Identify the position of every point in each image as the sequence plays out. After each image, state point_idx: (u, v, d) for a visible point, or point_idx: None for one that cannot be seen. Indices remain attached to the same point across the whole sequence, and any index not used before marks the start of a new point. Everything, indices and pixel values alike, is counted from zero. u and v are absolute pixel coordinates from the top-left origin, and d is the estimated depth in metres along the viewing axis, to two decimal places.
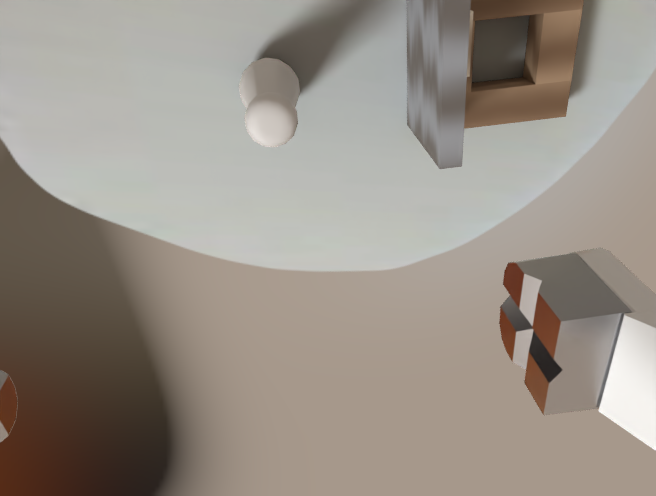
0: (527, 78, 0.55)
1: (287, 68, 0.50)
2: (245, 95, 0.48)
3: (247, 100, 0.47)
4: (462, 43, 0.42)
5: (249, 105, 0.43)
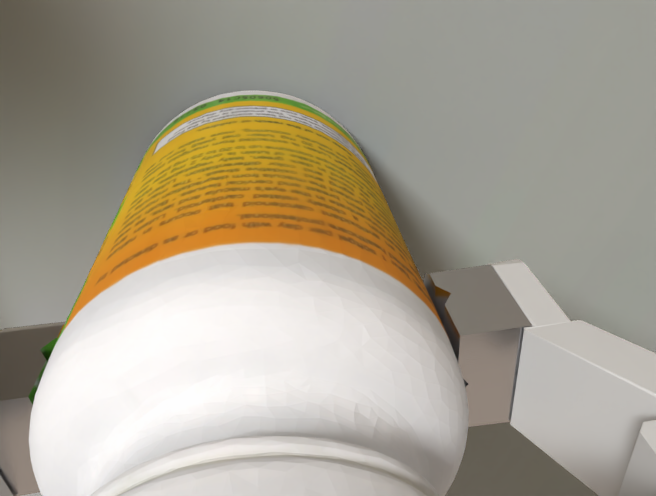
0: None
1: None
2: None
3: None
4: None
5: None
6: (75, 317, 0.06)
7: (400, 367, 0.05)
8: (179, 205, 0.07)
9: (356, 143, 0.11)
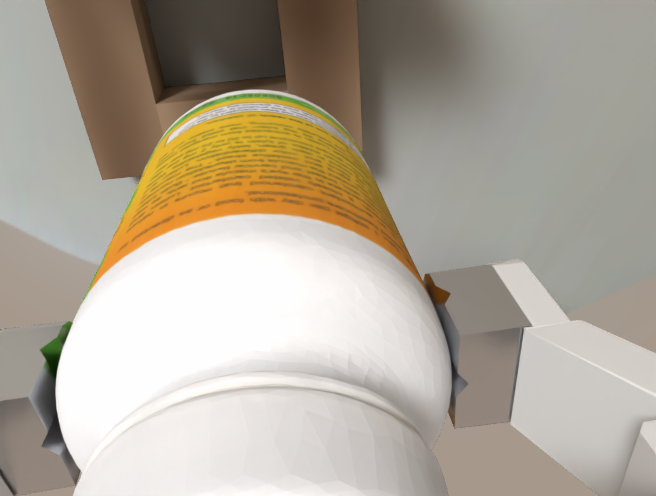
0: (164, 93, 0.28)
1: None
2: None
3: None
4: None
5: None
6: (100, 280, 0.07)
7: (389, 323, 0.06)
8: (192, 185, 0.08)
9: (353, 140, 0.12)
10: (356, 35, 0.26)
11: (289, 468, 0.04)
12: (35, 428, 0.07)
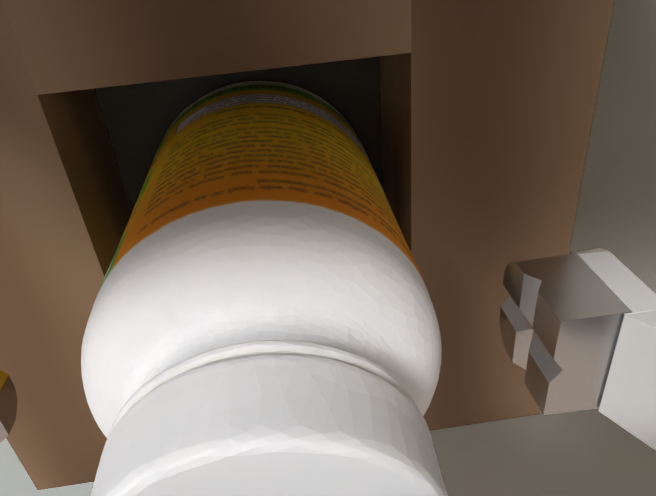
0: None
1: None
2: None
3: None
4: None
5: None
6: (122, 258, 0.07)
7: (385, 301, 0.07)
8: (205, 173, 0.08)
9: (353, 130, 0.13)
10: (569, 231, 0.12)
11: (297, 420, 0.05)
12: None
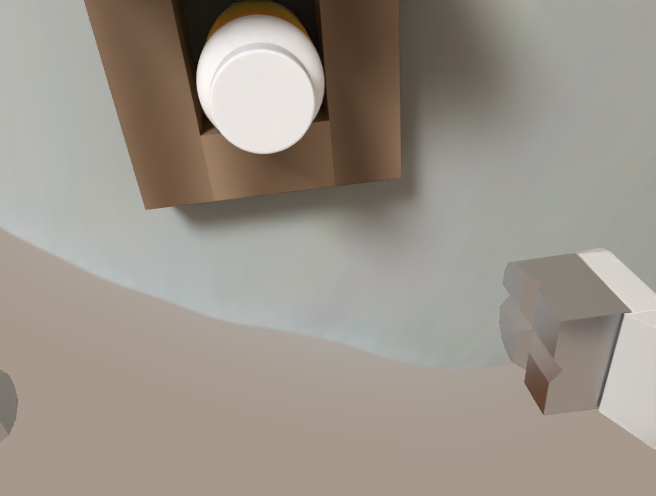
0: (205, 123, 0.29)
1: None
2: None
3: None
4: None
5: None
6: (212, 35, 0.22)
7: (299, 45, 0.21)
8: (238, 13, 0.23)
9: None
10: (398, 66, 0.27)
11: (269, 48, 0.19)
12: None
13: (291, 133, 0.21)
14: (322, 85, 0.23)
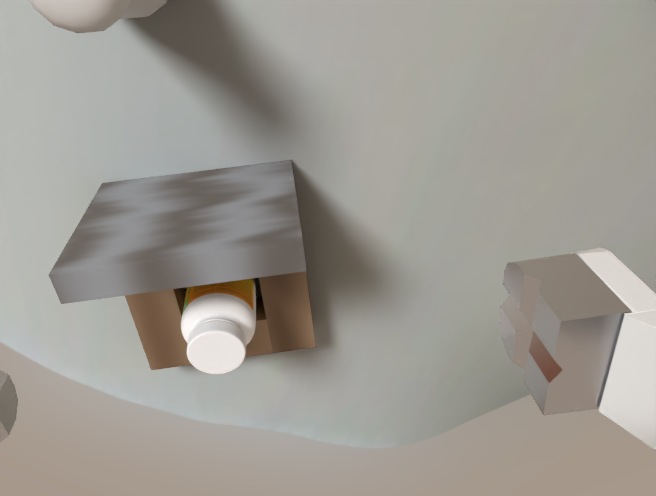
0: None
1: None
2: None
3: None
4: (243, 272, 0.31)
5: None
6: (190, 303, 0.38)
7: (238, 312, 0.38)
8: None
9: None
10: (307, 290, 0.43)
11: (218, 329, 0.36)
12: None
13: (233, 365, 0.37)
14: (253, 327, 0.39)
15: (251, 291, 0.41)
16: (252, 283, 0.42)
